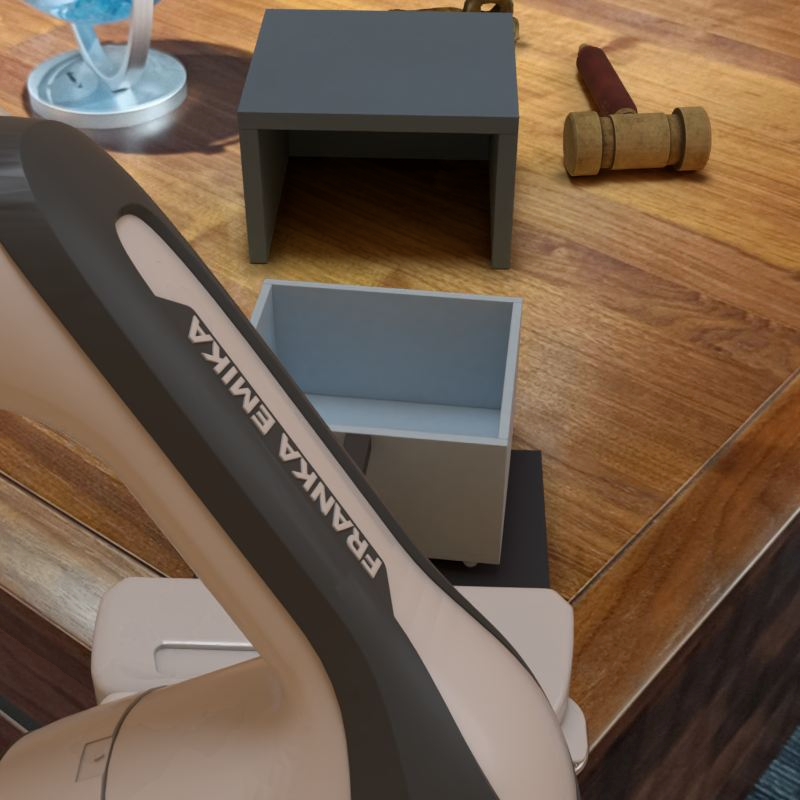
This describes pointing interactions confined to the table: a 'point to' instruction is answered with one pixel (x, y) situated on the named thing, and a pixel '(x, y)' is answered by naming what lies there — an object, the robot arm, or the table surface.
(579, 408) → the table surface
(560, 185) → the table surface
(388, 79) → the cabinet
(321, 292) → the bin
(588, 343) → the table surface
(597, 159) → the gavel
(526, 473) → the mat
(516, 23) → the seal
